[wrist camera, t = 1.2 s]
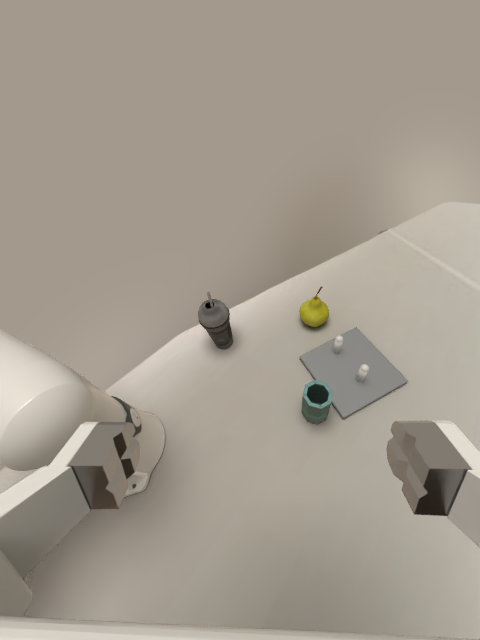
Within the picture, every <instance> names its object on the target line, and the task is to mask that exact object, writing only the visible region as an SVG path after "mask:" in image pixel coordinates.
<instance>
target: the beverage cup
mask: <svg viewBox="0 0 480 640" xmlns="http://www.w3.org/2000/svg"><path fill="white" fill-rule="evenodd" d="M207 294H208V298H209V300H207V301H205V302H204V303H203V304H202V305H201V306H200V308H199V311H198V316H199V322H200V324H201V325H202V326H203V327H204V328H205V329H206V330H207V332H208V333H209V335H210V337H211V338H212V340H213V341H214V343H215V344H216V345H217V347H218V348H220V349H227V348H229V347H230V346H231V345H232V343H233V339H232V338H233V337H232V332H231V327H230V322H229V315H230V313H229V310H228V308H227V307H226V306H225V304H224V303H223V302H221V301H219V300H216V299H211V296H210V293H209V292H208V293H207Z"/></svg>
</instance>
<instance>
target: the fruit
mask: <svg viewBox="0 0 480 640" xmlns="http://www.w3.org/2000/svg"><path fill="white" fill-rule="evenodd" d="M321 288H322V287H321ZM321 288H320V289H319V291H318V293H319V292H320V290H321ZM318 293H317V294H318ZM317 294H316V296H315V297H313V298H312V299H311V300H308V301H306V302H304V303H303V304H302V306H301V307H300V317H301V319H302V321H303V322H304V323H305V324H307V325H309V326H312V327H317V326H319V325H321V324H323V323H324V322H325V321H326V320H327V319H328V316H329V310H328V307H327V305H326V304H325V303H324V302H322V301H321V300H320V298H319V297H317Z"/></svg>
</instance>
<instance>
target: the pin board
mask: <svg viewBox="0 0 480 640" xmlns="http://www.w3.org/2000/svg"><path fill="white" fill-rule="evenodd" d="M300 360H301V362H302V363H303V364H304V366H305V367H306V369H307V370H308V371H309V373H310V374H311V376H312V377H313V378H314V380H316V381H320V382H324V383H326V384H327V385H328V386H329V388H330V389H331V390H332V392H333V395H332V401H331V404H332V405H333V406H334V408H335V409H336V411H337V412H338V413H339V415H340V416H341V418H342V419H344V418H346V417H348V416H350V415H351V414H353V413H355V412H357V411H358V410H360V409H362V408H364V407H365V406H367V405H369V404H371V403H372V402H374V401H376V400H378V399H379V398H381V397H383V396H385V395H386V394H388V393H390V392H392V391H394V390H395V389H397V388H399V387H401V386H402V385H404V384H406V383H407V382H408V380H407V379H406V378H405V377H404V376H403V375H402V374H401V373H400V372H399V371H398V370H397V369H396V368H395V367H394V366H393V365H392V364H391V363H390V362H389V361H388V360H387V358H386V357H385V356H384V355H383V354H382V353H381V352H380V351H379V350H378V349H377V348H376V347H375V346H374V345H373V344H372V343H371V342H370V341H369V340H368V339H367V338H366V337H365V336H364V335H363V334H362V333H361V331H360V330H359V329H358V328H357V327H356V328H354V329H352V330H350V331H348V332H346V333H344V334H342V335H340V336H337V337H336V338H334V339H333V340H331V341H329V342H327V343H325V344H323V345H321V346H319V347H317V348H315V349H313V350H311V351H309V352H308V353H306V354H304V355H302V356H300Z"/></svg>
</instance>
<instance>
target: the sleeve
mask: <svg viewBox="0 0 480 640" xmlns="http://www.w3.org/2000/svg"><path fill="white" fill-rule="evenodd" d="M332 395H333V392H332V390H331V389H330V388H329V386H328V385H327V384H326V383H324V382H320V381H316V380H314V381H312V382H310V383H308V384H306V385H305V388H304V392H303V399H302V414H303V415H304V417H305V419H306V420H307V422H311V423H314V424H319V423H321V422H323V421H325V420H326V418H327V415H328V412H329V408H330V405H331V401H332ZM311 402H315V403H319V404H321V405H318V404H314V403H311Z"/></svg>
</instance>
